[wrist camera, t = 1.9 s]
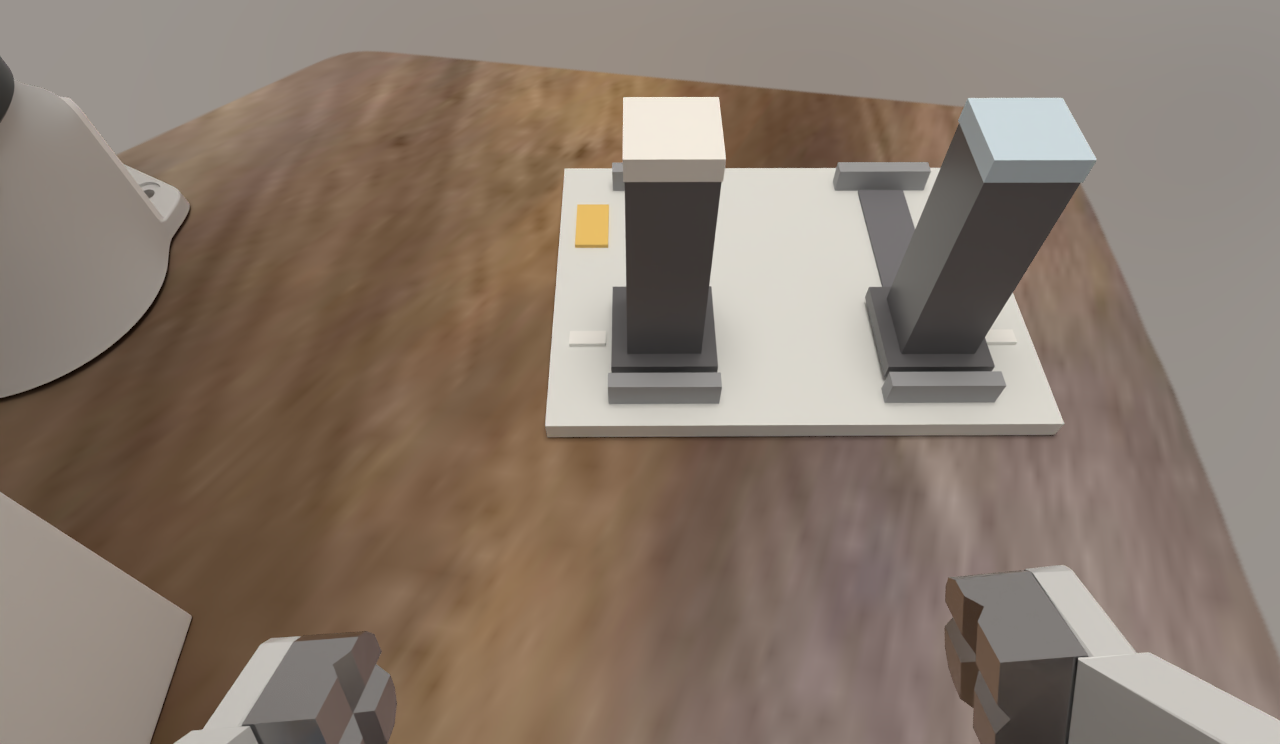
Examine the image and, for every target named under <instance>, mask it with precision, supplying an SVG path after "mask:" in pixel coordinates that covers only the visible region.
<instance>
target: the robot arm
mask: <svg viewBox="0 0 1280 744" xmlns="http://www.w3.org/2000/svg"><path fill="white" fill-rule="evenodd" d="M189 208H190V205H189V202H188V201H187V199H186V198H185V197H184V196H183V195H182V193H181V192H180V191H179V190H178V189H177V188H175V187H173V186H171V185H169V184H167V183H164V182H162V181H160V180H158V179H156V178H153V177H151V176H149V175H147V174H145V173H142V172H140V171H138V170H136V169H133V168H131V167H129V166H127V165H125V164H123V163H122V162H121V161H120V160H119V158H118V157H117V156H116V154H115V153H114V152H113V150H112V149H111V148H110V147H109V145H108V144H107V143H106V141H105V140H104V139H103V137H102V136H101V135H100V133H99V132H98V131H97V129H96V128H95V127H94V125H93V124H92V123H91V122H90V120H89V119H88V118H87V116H86V115H85V114H84V113H83V111H82V110H81V109H80V108H79V106H78V105H77V104H76V103H75V102H74V101H73V100H71V99H70V98H68V97H59V96H57V95H56V94H54V93H53V92H51V91H49V90H47V89H45V88H42V87H38V86H33V85H28V84H24V83H21V82H19V81H17V80H15V79H14V78H13V75H12V72H11V70H10V68H9V67H8V66H7V64H6V63H5V62H4V61H3V59H2V58H1V57H0V398H2V397H6V396H10V395H14V394H17V393H20V392H24V391H27V390H30V389H32V388H35V387H38V386H40V385H43V384H45V383H48V382H50V381H52V380H55V379H57V378H59V377H61V376H63V375H65V374H67V373H69V372H71V371H73V370H75V369H76V368H78V367H80V366H82V365H83V364H85V363H87V362H88V361H90V360H92V359H93V358H95V357H96V356H98V355H99V354H101V353H102V352H103V351H105V350H106V349H107V348H109V347H110V346H111V345H113V344H114V343H115V342H116V341H117V340H119V339H120V338H121V337H122V336H123V335H124V334H125V333H127V332H128V331H129V330H130V329H131V328H132V327H133V326H134V325H135V324H136V322H137V321H138V320H139V319H140V318H141V317H142V316H143V314H144V313H145V312H146V311H147V309H148V308H149V307H150V305H151V304H152V302H153V301H154V299H155V297H156V296H157V294H158V292H159V290H160V288H161V286H162V283H163V281H164V278H165V275H166V271H167V266H168V256H169V247H170V242H171V239H172V237H173V236H174V234H175V233H176V231H177V230H178V228H179V227H180V225H181V224H182V222H183V221H184V219H185V217H186V216H187V214H188V211H189ZM945 602H946V604H947V606H948V608H949V610H950V612H951V614H952V616H953V618H952V619H951V620H950V621H949V622H948V623H947V625H946V626H945V650H946V656H947V661H948V667H949V670H950V673H951V677H952V680H953V683H954V685H955V688H956V690H957V692H958V695H959V697H960V699H961V700H963V701H964V702H966V703H967V704H968V705H970V706H971V707H973V708H974V713H973V728H974V731H975V733H976V735H977V737H978V739H979V741H980V744H1280V720H1278V719H1276V718H1274V717H1272V716H1270V715H1268V714H1266V713H1264V712H1263V711H1261V710H1259V709H1257V708H1255V707H1253V706H1251V705H1249V704H1247V703H1245V702H1243V701H1242V700H1240V699H1238V698H1236V697H1234V696H1232V695H1230V694H1228V693H1226V692H1224V691H1222V690H1220V689H1219V688H1217V687H1215V686H1213V685H1211V684H1209V683H1207V682H1205V681H1203V680H1201V679H1199V678H1198V677H1196V676H1194V675H1192V674H1190V673H1188V672H1186V671H1184V670H1182V669H1180V668H1178V667H1176V666H1175V665H1173V664H1171V663H1169V662H1167V661H1165V660H1163V659H1161V658H1159V657H1157V656H1155V655H1154V654H1152V653H1150V652H1148V653H1137V652H1136V651H1135V650H1134V649H1133V647H1132V646H1131V645H1130V643H1129V642H1128V641H1127V640H1126V638H1125V637H1124V636H1123V634H1122V633H1121V632H1120V631H1119V629H1118V628H1117V627H1116V626H1115V624H1114V623H1113V622H1112V620H1111V619H1110V618H1109V617H1108V615H1107V614H1106V613H1105V611H1104V610H1103V609H1102V608H1101V606H1100V605H1099V604H1098V603H1097V601H1096V600H1095V599H1094V597H1093V596H1092V595H1091V594H1090V592H1089V591H1088V590H1087V588H1086V587H1085V586H1084V585H1083V583H1082V582H1081V581H1080V579H1079V578H1078V577H1077V576H1076V574H1075V573H1074V572H1073V571H1072V569H1070V568H1069V567H1067V566H1065V565H1057V566H1048V567H1039V568H1031V569H1025V570H1024V571H1023V570H1019V571H1009V572H999V573H989V574H978V575H968V576H958V577H948V581H947V584H946V594H945ZM381 652H382V651H381V649H380V647H379V644H378V642H377V640H376V637H375V635H374V634H372V633H369V632H367V631H362V632H347V633H332V634H317V635H303V636H301V637H283V638H271V639H269V640H267V641H265V642H264V643H262V644H261V645H260V646H259V647H258V649H257V650H256V652H255V653H254V655H253V656H252V658H251V659H250V661H249V662H248V664H247V665H246V667H245V668H244V669H243V671H242V672H241V674H240V675H239V677H238V678H237V680H236V681H235V683H234V684H233V686H232V687H231V689H230V690H229V691H228V693H227V694H226V696H225V697H224V699H223V700H222V702H221V703H220V705H219V706H218V708H217V709H216V711H215V712H214V713H213V715H212V716H211V718H210V719H209V721H208V722H207V724H206V725H205V727H204V728H203V730H195V731H191V732H189V733H188V734H187V735H185V736H184V737H182V738H181V739H180V740H178V741H177V742H175V743H174V744H387V743H388V741H389V738H390V735H391V733H392V730H393V727H394V723H395V715H396V706H397V702H396V694H395V687H394V684H393V681H392V679H391V676H390V674H388V673H387V672H386V671H384V670H383V669H382V668H380V667H379V666H378V665H376V663H377V660H378V658H379V656H380V654H381Z"/></svg>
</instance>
